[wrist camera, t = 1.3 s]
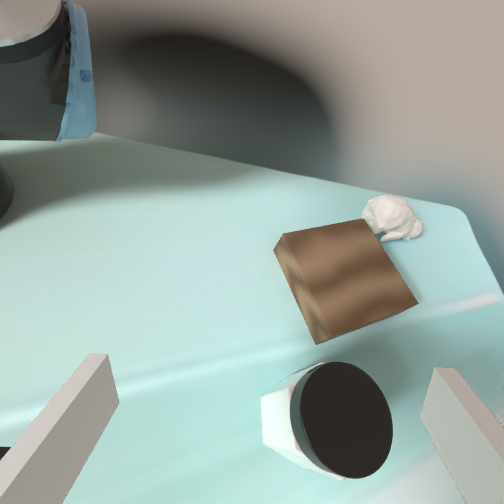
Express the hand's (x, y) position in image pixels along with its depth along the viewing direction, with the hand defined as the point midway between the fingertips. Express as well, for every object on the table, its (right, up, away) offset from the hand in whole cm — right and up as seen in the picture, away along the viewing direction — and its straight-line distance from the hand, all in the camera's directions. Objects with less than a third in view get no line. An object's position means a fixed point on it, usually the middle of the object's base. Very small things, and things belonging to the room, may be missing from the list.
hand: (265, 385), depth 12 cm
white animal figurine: (+23, +9, +40) cm, 47 cm away
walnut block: (+12, +1, +32) cm, 34 cm away
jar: (+4, -14, +21) cm, 25 cm away
